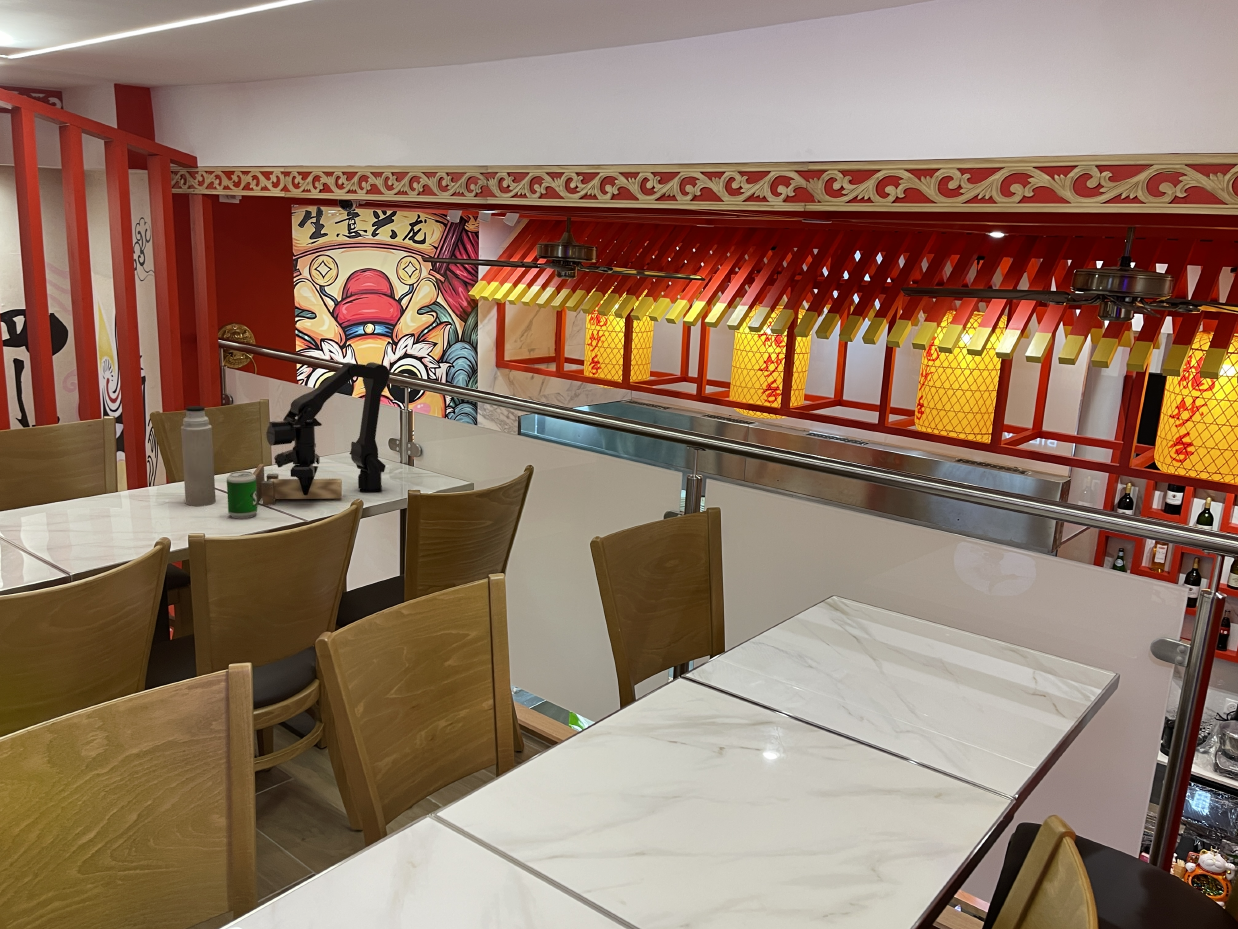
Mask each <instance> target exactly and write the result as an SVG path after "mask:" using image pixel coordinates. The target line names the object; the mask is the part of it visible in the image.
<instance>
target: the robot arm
mask: <svg viewBox="0 0 1238 929" xmlns="http://www.w3.org/2000/svg"><path fill="white" fill-rule="evenodd" d="M390 376H391V371H390V369H389V368H388V366H386V365H385V364H381V363H378V362H368V363H366V364H363V363H353V362H349V361H347V362H344V363H343V364H342V366H341V367H340V368H339V369H337V370H336V371H335V372H334V373H333V374H331V375H330V376H329V377H328V378H327V379H325V380H324V381H323V382H322V383H321V384H320V385H318V386H317V387H316V388H315V389H313V390H312V391H309V392H306V393H304V394H301V395H300V396H298V397H297V398H295V399H293V400H292V402H290V409H289V410H288V412H287V413H286V415H285V416H284V418H283V420H281V421H274V420H273V421H269V422H268V423H269V425H268V426H267V429H266V432H265V435H266V441H267V443H268V445H270V446H278V445H280V446H281V445H282V446H283V445H288V444H289V445H290V444H292V443H293V442H294V445H293V447H292V449H289V450H286V451H284V452H283V451H282V452H280V453H277V454H275V455H274V463H275V464H276V466H277V468H282V467H284V466H285V465H288V464H291V463H292V465H293V466H292V467H291V468H290V471H289V472H290V478H291V477H292V478H295V479H299V481H300V484H301V488H302V491H303V494H304V495H308V492H309V490H310V487H311V484H312V481H313V479H315V477H316V473H317V472H318V469H319V466H317V465H319V464H320V463H321V458H320V455H319V454H318V453H316V448H317V442H316V437H315V436H316V435H315V434H316V432H315V431H316V430H315V427H321V426H323V423H321V422H320V421H318V419H317V418H316V417H317V415H318V414H319V413H320V412H321V411H322V408H323V407H324V405H325V403H326V402H327V401H328V400H330V398H332V397H333V396H334V395H335V394H336V393H338V391H340V390H341V389H342V388H343V387H344V386H346V385H347V384H348V383H349V382H350V381H352V380H353V379H354V378H362V383H363V387H364V390H365V393H364V401H363V406H362V407H363V408H362V416H361V422H360V423H361V424H360V430H359V436H358V438H357V440H356V441H351V444H350V448H351V449H350V452H349V455H350V459H351V461H352V462H353V463H354V464H355V465H356V466H355V467H357V469H359V473H358V475H357V480H358V482H357V483H358V490H359V493H373V492H374V493H375V492H376V491H381V490H382V491H383V485H382V473H384V472H385V470H386V467H387V466H386V464H385V463H383V461H381V460H380V459H379V448H378V445H377V444H378V443H377V441H376V438H377V437H376V435H377V428H378V421H379V414H380V408H381V407H380V406H381V400H382V393H383V392H384V391H385V389H386V387H387V386H388V382H389V380H390ZM315 464H316V465H315ZM382 491H381V492H382ZM376 493H377V492H376Z"/></svg>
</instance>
